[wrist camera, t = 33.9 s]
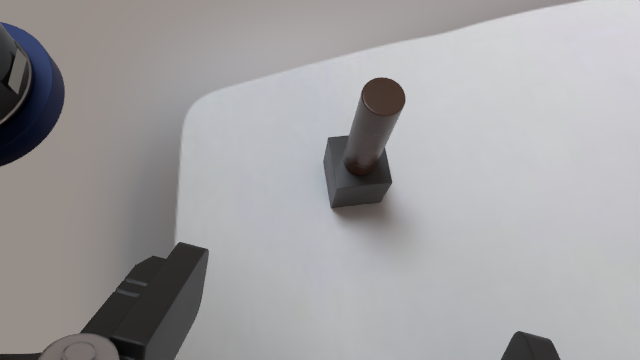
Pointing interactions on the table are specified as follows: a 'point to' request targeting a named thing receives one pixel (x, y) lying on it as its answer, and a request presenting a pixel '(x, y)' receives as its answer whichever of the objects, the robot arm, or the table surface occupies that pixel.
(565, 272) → the table surface
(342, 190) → the cylinder on square base
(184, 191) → the table surface
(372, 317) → the table surface
